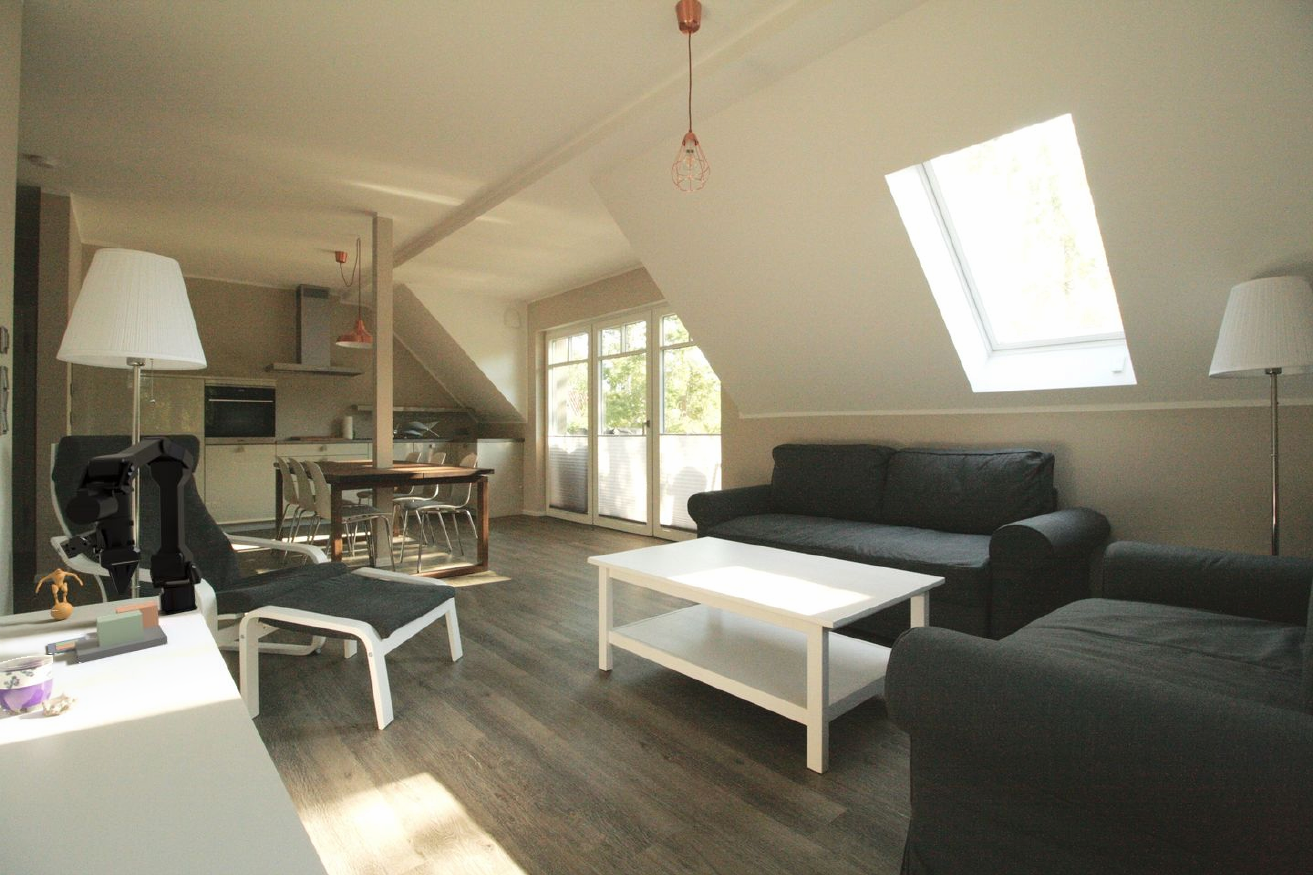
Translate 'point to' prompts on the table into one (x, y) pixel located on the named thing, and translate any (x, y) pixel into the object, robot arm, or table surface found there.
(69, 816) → the table surface
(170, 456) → the robot arm
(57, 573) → the figurine
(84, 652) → the base plate
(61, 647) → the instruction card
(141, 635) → the sage brick
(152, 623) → the terracotta brick
